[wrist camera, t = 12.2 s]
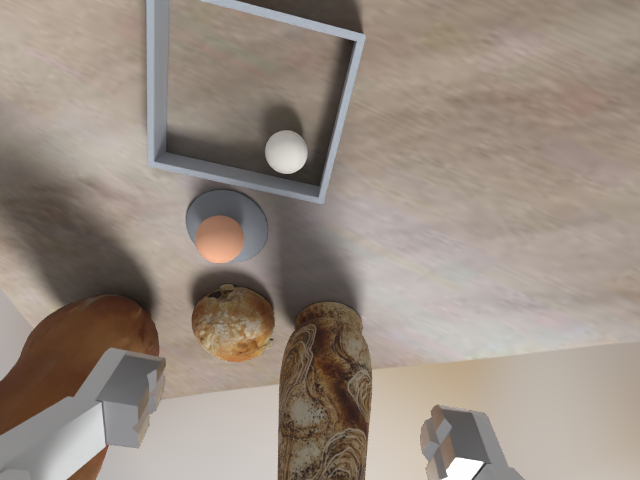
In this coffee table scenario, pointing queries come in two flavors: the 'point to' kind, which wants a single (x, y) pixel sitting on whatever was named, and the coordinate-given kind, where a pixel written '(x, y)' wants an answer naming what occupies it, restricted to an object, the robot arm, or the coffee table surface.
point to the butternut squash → (72, 358)
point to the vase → (325, 396)
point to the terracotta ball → (219, 239)
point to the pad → (236, 209)
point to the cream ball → (286, 152)
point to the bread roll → (233, 323)
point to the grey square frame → (221, 173)
